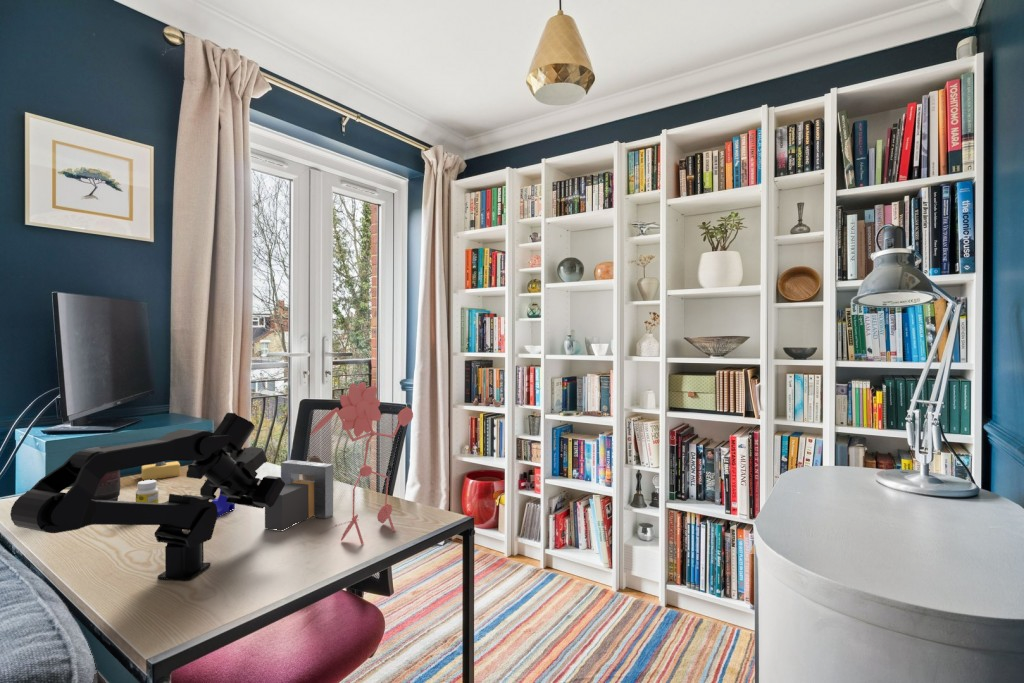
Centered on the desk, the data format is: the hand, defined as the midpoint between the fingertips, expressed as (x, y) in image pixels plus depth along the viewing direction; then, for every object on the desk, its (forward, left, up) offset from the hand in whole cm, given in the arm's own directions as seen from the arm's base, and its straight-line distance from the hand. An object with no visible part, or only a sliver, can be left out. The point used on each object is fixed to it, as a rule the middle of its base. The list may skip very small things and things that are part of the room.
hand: (263, 506), depth 119 cm
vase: (+39, +5, -7) cm, 40 cm away
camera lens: (+18, +54, -7) cm, 57 cm away
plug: (+9, -2, -7) cm, 11 cm away
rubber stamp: (+45, +58, -7) cm, 74 cm away
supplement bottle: (+11, +36, -7) cm, 38 cm away
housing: (+14, -4, -7) cm, 16 cm away
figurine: (+4, -21, -7) cm, 23 cm away
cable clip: (+11, +20, -7) cm, 24 cm away
